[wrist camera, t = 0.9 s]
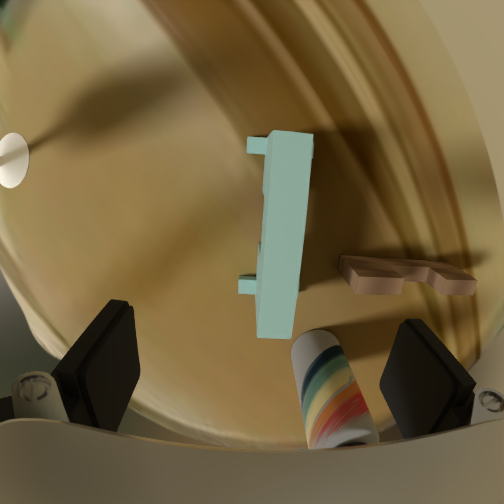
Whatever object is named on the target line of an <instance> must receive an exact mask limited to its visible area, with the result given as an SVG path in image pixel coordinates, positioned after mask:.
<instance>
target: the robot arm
mask: <svg viewBox="0 0 504 504" xmlns="http://www.w3.org/2000/svg"><path fill="white" fill-rule="evenodd" d="M139 377H140V363H139V355H138V347H137V338H136V329H135V319H134V309H133V307H132V306H129V304H128V302H127V301H122V300H114V299H111V300H110V301H109V302H108V303H107V304H106V306H105V307H104V308H103V309H102V310H101V312H100V313H99V314H98V315H97V316H96V318H95V319H94V320H93V321H92V322H91V324H90V325H89V326H88V327H87V328H86V330H85V331H84V332H83V333H82V335H81V336H80V337H79V338H78V340H77V341H76V342H75V343H74V345H73V346H72V347H71V348H70V350H69V351H68V352H67V353H66V355H65V356H64V357H63V359H62V360H61V361H60V363H59V364H58V365H57V366H56V368H55V369H54V370H53V372H52V373H51V375H49V374H47V373H44V372H39V371H36V372H29V373H25V374H23V375H21V376H20V377H18V378H17V379H16V380H15V381H14V383H13V385H12V387H11V395H12V396H9V397H5V398H1V399H0V504H504V396H503V395H502V394H501V393H500V392H498V391H496V390H494V389H490V388H482V389H479V390H478V391H477V392H476V394H474V392H473V389H474V387H475V385H476V382H475V381H474V380H473V378H472V377H471V376H470V375H469V373H468V372H467V371H466V370H465V369H464V367H463V366H462V365H461V364H460V363H459V362H458V360H457V359H456V358H455V357H454V356H453V355H452V353H451V352H450V351H449V350H448V349H447V348H446V346H445V345H444V344H443V343H442V342H441V341H440V340H439V338H438V337H437V336H436V335H435V334H434V333H433V332H432V331H431V330H430V328H429V327H428V326H427V325H426V324H425V323H424V322H423V321H422V320H421V319H406V320H405V321H404V322H403V323H401V324H400V326H399V329H398V332H397V335H396V338H395V341H394V344H393V347H392V349H391V352H390V355H389V358H388V361H387V363H386V366H385V369H384V371H383V374H382V377H381V379H380V390H381V392H382V394H383V396H384V398H385V400H386V402H387V404H388V406H389V408H390V410H391V412H392V414H393V417H394V419H395V421H396V423H397V425H398V427H399V429H400V431H401V433H402V436H403V438H404V439H402V440H396V441H390V442H383V443H376V444H368V445H359V446H349V447H338V448H324V449H301V450H259V449H235V448H220V447H208V446H198V445H190V444H182V443H175V442H168V441H162V440H155V439H149V438H143V437H138V436H133V435H127V434H122V433H118V432H117V429H118V427H119V425H120V422H121V420H122V417H123V415H124V412H125V410H126V408H127V405H128V403H129V401H130V398H131V396H132V394H133V391H134V389H135V387H136V384H137V382H138V380H139Z"/></svg>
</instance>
